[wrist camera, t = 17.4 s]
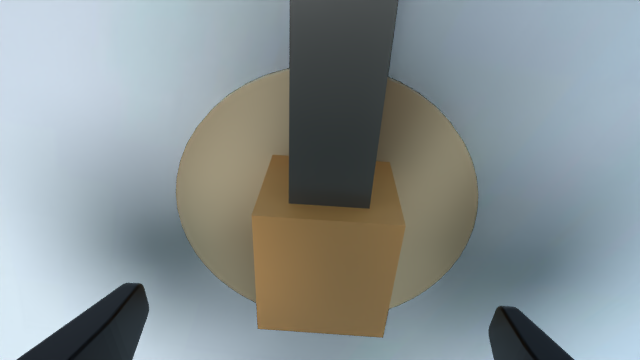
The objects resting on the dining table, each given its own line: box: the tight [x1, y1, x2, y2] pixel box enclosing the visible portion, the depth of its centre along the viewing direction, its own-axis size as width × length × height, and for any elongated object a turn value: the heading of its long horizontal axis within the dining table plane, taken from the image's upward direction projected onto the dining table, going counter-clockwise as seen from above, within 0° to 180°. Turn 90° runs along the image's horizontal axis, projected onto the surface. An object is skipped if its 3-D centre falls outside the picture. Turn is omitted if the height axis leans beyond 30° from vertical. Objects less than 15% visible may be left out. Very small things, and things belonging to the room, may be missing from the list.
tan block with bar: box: [252, 0, 406, 338], centre depth 9 cm, size 4×13×3 cm, turn 177°
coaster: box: [176, 68, 478, 309], centre depth 13 cm, size 10×10×1 cm
